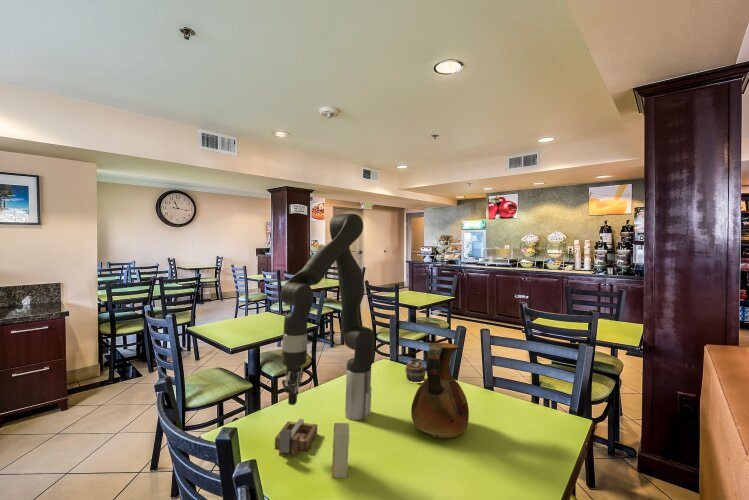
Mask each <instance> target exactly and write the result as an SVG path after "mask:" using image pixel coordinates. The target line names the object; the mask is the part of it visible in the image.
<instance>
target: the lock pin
mask: <svg viewBox="0 0 749 500" xmlns="http://www.w3.org/2000/svg"><path fill="white" fill-rule="evenodd" d="M296 422H297V423H296V424H295V426H294V427H293V429H292V430H289V429H282V428H281V430H279V432H280V452H285V453H286V454H290V452H292V450H291V442H292V439H293V437H294V436H295V434H297V433H298V432H299V430H300V429H301V427H302V426H303V424H304V423H305V419H303V418H299V419H298V421H296ZM285 453H284V454H285Z"/></svg>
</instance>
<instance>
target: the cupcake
mask: <svg viewBox="0 0 749 500" xmlns="http://www.w3.org/2000/svg"><path fill="white" fill-rule="evenodd" d="M405 374H406V380H407V379H408V380H409V381H412V382H421V381H423V380H425V377H426V375H427V370H426V369H425V366H424V364H423V361H422V359H420V358H418V359H415V358H413V357H412V358H411V359H410V360H409V361H408V363H406V365H405Z"/></svg>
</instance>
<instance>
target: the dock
mask: <svg viewBox="0 0 749 500" xmlns="http://www.w3.org/2000/svg"><path fill="white" fill-rule="evenodd" d="M297 422H298V421H288V420H287V422H286V423H285V424H284V425H283V427H282V428H281V430H282V429H289V430H292V429H293V427H294V426H295V424H296V423H297ZM317 436H318V424H317V423H316V424H315V423H309V422H308V423H305V422H304V424H303V426H302V427H301V429H300V430H299V432H298V433H297V434H295V436H294V437H293V439H292V442H291V457H292V458H293V457H294V458H296V457H297V455H298V453H299V452H304V453H308V452H309V450H310V449H311V446H312V445H313V442H314V441H315V439H316V437H317ZM274 449H278V456H284V454H285V452H280V431H279V432H278V434H277V435H276V436H275V438H274Z"/></svg>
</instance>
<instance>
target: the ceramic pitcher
mask: <svg viewBox="0 0 749 500" xmlns="http://www.w3.org/2000/svg"><path fill="white" fill-rule="evenodd" d="M427 345H428V347H429V349H428V351H427V354H426V361H425V364H426V367H425V368H426V377H427V378H426V379H424V382H423V383H421V384H419V387H418V388H417V390H416V392H415V394H414V398H413V401H412V403H411V407H410V408H411V409H410V414H411V416H410V417H411V419H412V423H413V424H414V425H415V427H416V428H417V429H418V430H419V431H422V432H424V433H426V434H428V435H432V436H433V437H435V438H441V439H450V438H454V437H456V436H459V435H461V434H463V433H464V432H465V431H466V430H467V428H468V425H469V418H470V411H469V403H468V400H467V396H466V393H465V391H464V390H463V388H462V387H461V385H460V384H459V383H458V381H456V379H455V378H453V376H452V372H451V362H452V356H453V354H454V353H455V352H456V350H459V346H458V345H457V344H452V343H449V342H427Z"/></svg>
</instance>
